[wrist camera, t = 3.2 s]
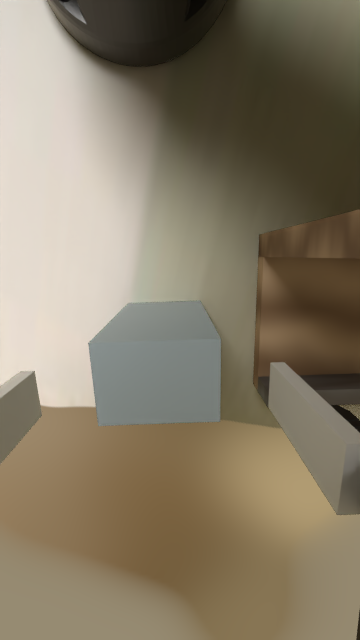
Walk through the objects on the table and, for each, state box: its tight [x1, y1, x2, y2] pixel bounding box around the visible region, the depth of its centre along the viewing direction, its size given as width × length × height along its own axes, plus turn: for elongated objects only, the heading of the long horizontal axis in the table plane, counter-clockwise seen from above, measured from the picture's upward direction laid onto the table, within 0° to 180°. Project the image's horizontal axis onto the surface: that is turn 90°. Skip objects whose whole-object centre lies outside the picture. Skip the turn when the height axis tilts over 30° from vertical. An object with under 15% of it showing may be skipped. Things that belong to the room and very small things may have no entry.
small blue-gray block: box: [88, 301, 221, 426], centre depth 20 cm, size 6×7×12 cm
